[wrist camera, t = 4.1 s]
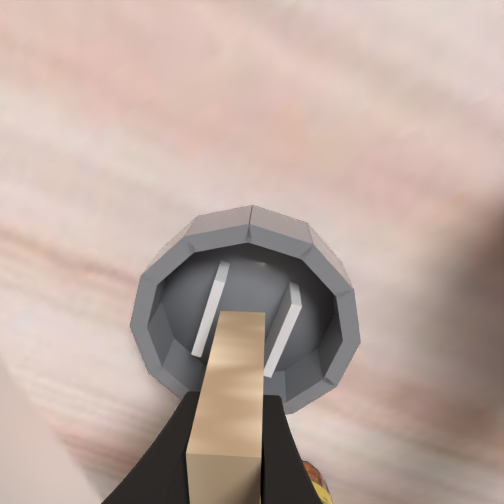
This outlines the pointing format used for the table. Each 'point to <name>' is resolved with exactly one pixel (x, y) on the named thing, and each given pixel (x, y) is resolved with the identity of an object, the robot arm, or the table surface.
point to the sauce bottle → (318, 483)
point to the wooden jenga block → (229, 415)
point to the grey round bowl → (248, 303)
